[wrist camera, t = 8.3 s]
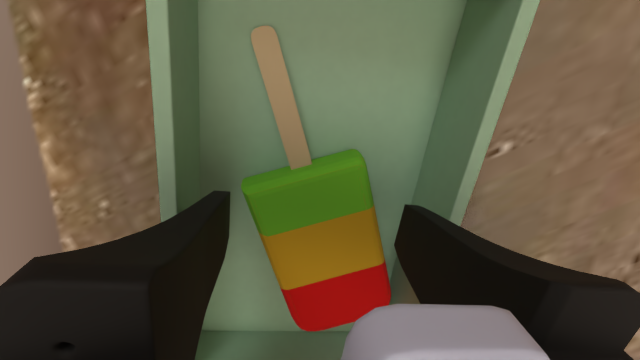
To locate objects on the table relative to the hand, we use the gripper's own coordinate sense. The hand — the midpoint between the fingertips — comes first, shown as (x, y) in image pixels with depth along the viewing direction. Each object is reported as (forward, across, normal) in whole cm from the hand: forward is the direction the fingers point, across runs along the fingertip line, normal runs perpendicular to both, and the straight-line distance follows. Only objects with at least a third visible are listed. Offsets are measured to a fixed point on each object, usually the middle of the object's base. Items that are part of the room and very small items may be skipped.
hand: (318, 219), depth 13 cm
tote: (+3, 0, 0) cm, 3 cm away
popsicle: (+3, 0, 0) cm, 3 cm away
